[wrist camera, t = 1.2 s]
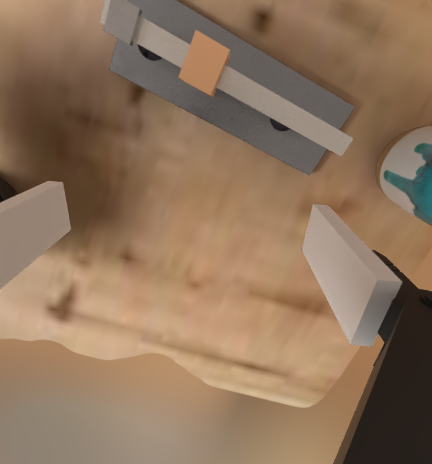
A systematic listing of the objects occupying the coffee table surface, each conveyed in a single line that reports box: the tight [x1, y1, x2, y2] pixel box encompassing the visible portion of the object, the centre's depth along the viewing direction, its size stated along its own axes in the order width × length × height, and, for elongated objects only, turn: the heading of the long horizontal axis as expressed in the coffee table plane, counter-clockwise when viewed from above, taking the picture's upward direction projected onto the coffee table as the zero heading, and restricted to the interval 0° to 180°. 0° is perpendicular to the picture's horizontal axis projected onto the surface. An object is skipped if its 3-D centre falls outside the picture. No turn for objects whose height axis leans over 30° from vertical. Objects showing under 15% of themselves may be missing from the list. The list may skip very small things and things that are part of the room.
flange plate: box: [109, 0, 354, 176], centre depth 35 cm, size 30×10×1 cm, turn 64°
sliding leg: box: [179, 30, 230, 97], centre depth 28 cm, size 3×4×12 cm
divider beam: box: [100, 0, 354, 157], centre depth 29 cm, size 26×3×11 cm, turn 64°
